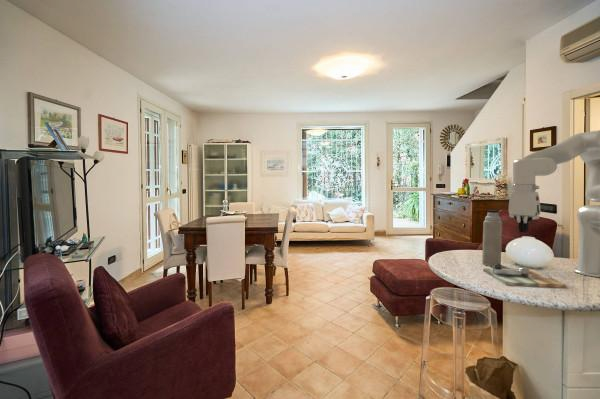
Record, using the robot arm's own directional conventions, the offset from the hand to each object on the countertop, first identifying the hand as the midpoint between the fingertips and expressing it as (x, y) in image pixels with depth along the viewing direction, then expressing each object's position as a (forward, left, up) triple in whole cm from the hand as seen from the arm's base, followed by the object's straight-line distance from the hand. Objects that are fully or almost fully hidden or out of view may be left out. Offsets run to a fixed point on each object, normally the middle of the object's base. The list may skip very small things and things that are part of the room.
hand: (523, 231), depth 125 cm
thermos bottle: (0, -26, -21) cm, 34 cm away
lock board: (-2, -4, -21) cm, 22 cm away
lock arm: (+2, -5, -20) cm, 20 cm away
